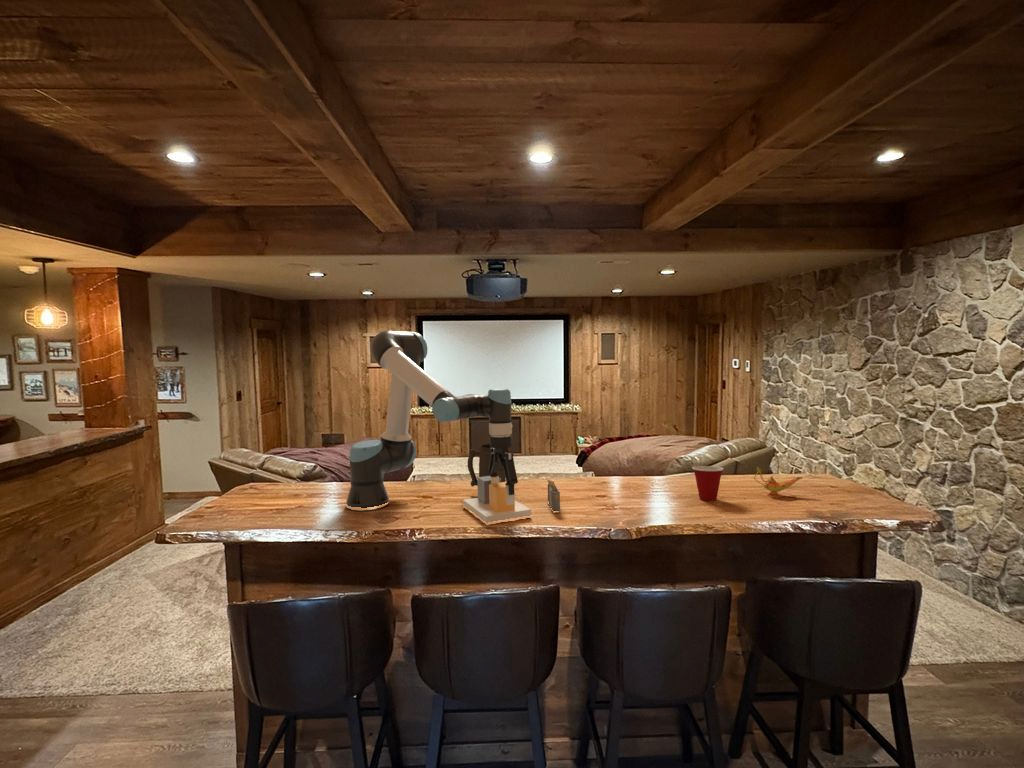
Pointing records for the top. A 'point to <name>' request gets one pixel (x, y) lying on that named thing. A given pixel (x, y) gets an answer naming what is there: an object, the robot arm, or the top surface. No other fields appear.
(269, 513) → the top surface
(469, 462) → the beer stein
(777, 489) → the magic lamp
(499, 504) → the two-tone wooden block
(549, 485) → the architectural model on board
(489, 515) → the assembly base with peg
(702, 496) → the plastic cup
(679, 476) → the top surface
